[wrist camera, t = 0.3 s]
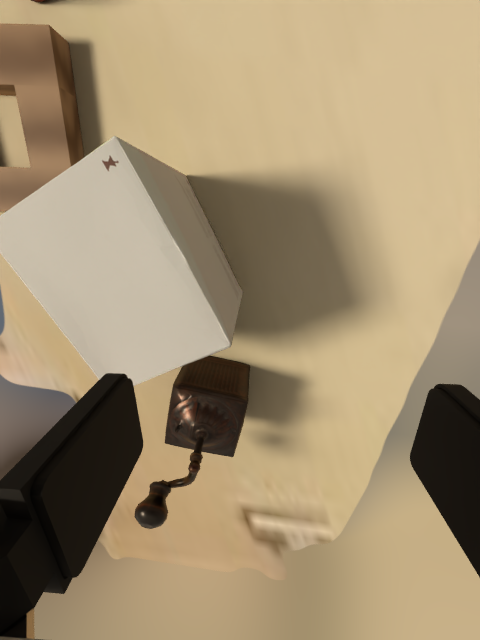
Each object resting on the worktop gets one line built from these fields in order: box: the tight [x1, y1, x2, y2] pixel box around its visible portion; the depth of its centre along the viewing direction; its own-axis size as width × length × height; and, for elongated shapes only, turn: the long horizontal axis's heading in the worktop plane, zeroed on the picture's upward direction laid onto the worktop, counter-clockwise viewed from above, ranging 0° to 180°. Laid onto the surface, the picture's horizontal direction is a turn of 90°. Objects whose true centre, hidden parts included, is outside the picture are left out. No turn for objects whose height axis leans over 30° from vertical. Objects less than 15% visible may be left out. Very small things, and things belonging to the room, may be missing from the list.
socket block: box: [0, 24, 84, 211], centre depth 32 cm, size 18×18×3 cm
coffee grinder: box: [135, 356, 250, 529], centre depth 37 cm, size 16×11×18 cm
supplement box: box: [0, 136, 243, 386], centre depth 29 cm, size 17×13×18 cm
